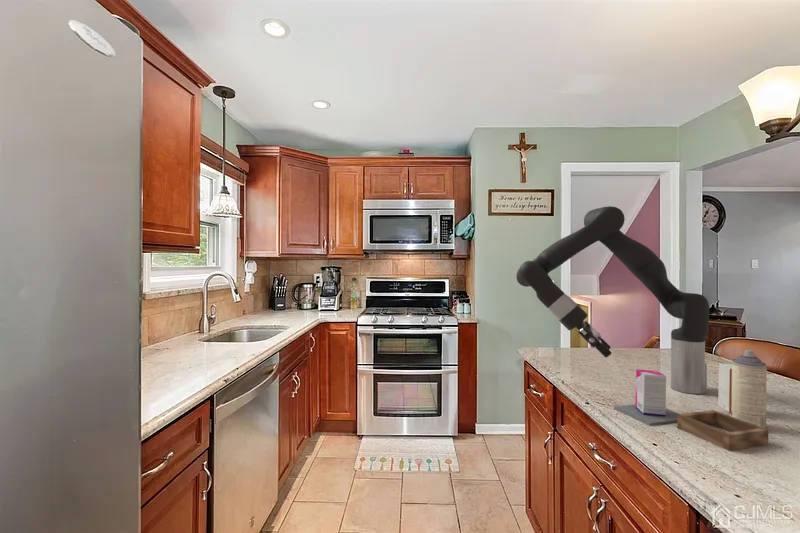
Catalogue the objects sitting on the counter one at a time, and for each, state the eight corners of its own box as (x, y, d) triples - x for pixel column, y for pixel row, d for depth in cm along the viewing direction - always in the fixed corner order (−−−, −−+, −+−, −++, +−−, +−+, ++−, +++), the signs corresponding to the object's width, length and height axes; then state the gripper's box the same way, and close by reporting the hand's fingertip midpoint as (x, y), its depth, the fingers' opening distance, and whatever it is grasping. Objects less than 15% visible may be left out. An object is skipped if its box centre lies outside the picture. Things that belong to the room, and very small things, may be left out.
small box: (729, 413, 108) (729, 368, 108) (717, 405, 114) (718, 362, 114) (763, 416, 105) (764, 370, 105) (750, 408, 112) (750, 365, 111)
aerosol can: (763, 424, 101) (764, 349, 100) (768, 433, 95) (769, 354, 95) (729, 417, 105) (730, 346, 104) (733, 426, 99) (733, 351, 99)
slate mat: (651, 404, 114) (651, 402, 114) (690, 420, 103) (690, 418, 103) (613, 408, 111) (613, 406, 111) (649, 425, 99) (649, 423, 99)
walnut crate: (713, 423, 101) (713, 410, 101) (768, 444, 89) (768, 429, 89) (677, 427, 98) (677, 414, 98) (729, 450, 86) (729, 435, 86)
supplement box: (666, 417, 103) (666, 375, 103) (642, 415, 105) (643, 374, 105) (657, 409, 109) (657, 370, 109) (634, 407, 110) (634, 368, 110)
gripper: (575, 305, 109) (620, 349, 104) (577, 301, 122) (617, 340, 117) (555, 322, 112) (598, 365, 107) (559, 316, 124) (598, 355, 119)
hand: (608, 352), depth 112 cm, fingers open, 8 cm apart
